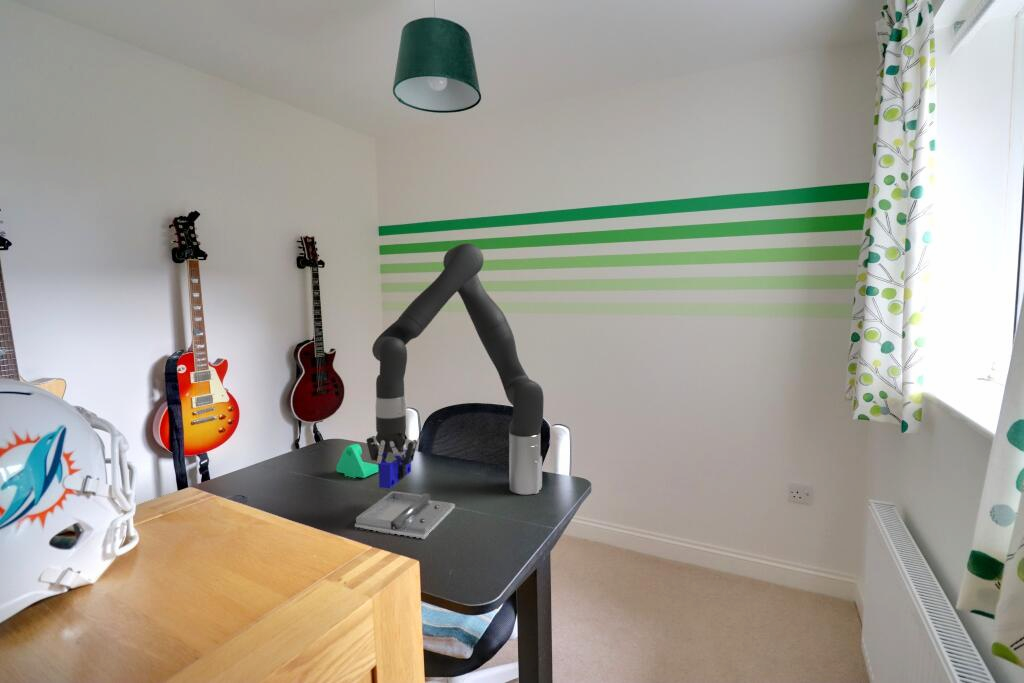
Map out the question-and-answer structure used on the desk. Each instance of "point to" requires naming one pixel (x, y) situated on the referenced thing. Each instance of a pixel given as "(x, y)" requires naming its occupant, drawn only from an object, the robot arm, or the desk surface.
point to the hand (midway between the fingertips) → (392, 477)
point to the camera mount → (355, 463)
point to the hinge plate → (398, 510)
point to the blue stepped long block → (390, 473)
